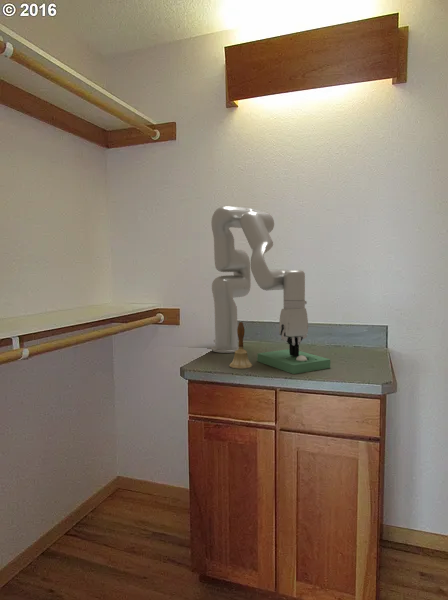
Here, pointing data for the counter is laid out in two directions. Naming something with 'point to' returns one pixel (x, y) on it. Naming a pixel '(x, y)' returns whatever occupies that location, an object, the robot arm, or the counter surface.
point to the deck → (293, 361)
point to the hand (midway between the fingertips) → (294, 355)
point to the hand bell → (240, 352)
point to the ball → (301, 358)
